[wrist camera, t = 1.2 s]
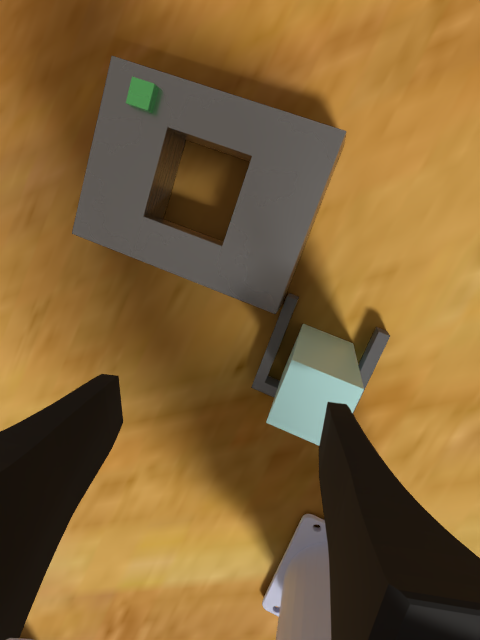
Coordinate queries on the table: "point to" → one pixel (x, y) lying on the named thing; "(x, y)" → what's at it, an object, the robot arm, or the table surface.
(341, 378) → the plug
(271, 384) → the holster
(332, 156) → the port panel
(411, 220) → the table surface
